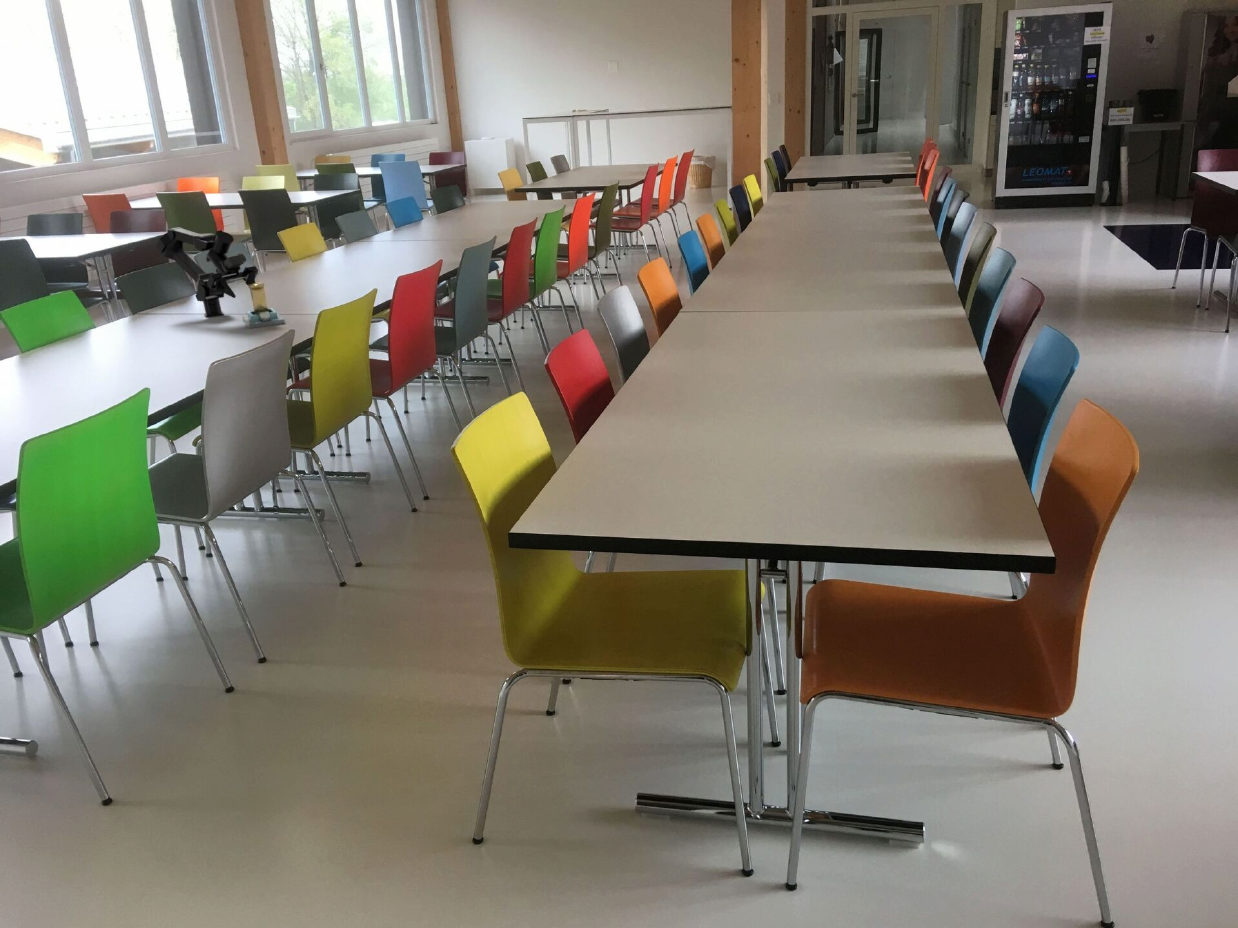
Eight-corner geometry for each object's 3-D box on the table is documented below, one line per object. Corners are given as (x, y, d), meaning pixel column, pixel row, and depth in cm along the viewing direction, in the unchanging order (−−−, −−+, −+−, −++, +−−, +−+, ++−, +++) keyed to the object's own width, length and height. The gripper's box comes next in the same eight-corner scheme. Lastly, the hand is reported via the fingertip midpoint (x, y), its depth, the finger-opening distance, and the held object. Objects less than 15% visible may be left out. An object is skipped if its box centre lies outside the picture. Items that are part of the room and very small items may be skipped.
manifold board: (242, 319, 353) (240, 307, 352) (276, 314, 358) (274, 302, 357) (249, 328, 338) (247, 316, 337) (284, 323, 343) (282, 310, 342)
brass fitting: (252, 319, 345) (245, 286, 341) (258, 316, 350) (251, 283, 346) (267, 318, 345) (260, 285, 341) (272, 315, 350) (266, 282, 346)
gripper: (204, 251, 339) (229, 285, 337) (250, 243, 353) (274, 275, 351) (196, 272, 346) (221, 305, 344) (241, 263, 360) (265, 295, 358)
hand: (246, 294), depth 349 cm, fingers open, 9 cm apart
